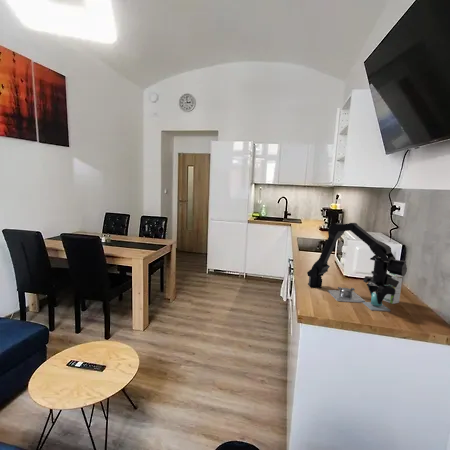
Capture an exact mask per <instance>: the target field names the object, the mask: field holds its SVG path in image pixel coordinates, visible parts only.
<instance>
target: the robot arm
mask: <svg viewBox="0 0 450 450" xmlns="http://www.w3.org/2000/svg"><path fill="white" fill-rule="evenodd" d="M327 231H328V233H327V235H328V237H327V239H326V242H325V244H324V247H323V249H322V251H321V253H320V256H319V257H318V259H316V261H315V262H314V263H313V265H312V267H311V268H310V269H309V270H308V271H307V272H306V273H307V276H308V283H307V285H308V287H309V288H313V289H322V286H323V279H322V277H324V275H325V274H326V273H328V270H329V268H330V265H329V263H328V261H329V259H330V258H331V255H332V254H333V253H332V252H333V250H334V248H335V246H336V244H337V242H338V240H339V239H340V238H341V237H342V236H343V234H344V233H345V232H349V231H350V232H351V233H353V234H354V235H355V236H356V237H357V238H358V239H360V240H361V241H362V242H363V243H365V244H366V245H367V246H368V247H369V249H370V251H371V252H372V253H373V254H374V255H373V256H372V257H370V259H369V260H370V261H374V263H373V270H371V272H370V273H371V274H372V276H369V275H368V276H366V275H365V276H364V277H363V282H364V283H365V284H366V286H367V288H368V291H369V293H370V297H372V293H373V292H376V297H377V302H378V304H381V303H382V304H383V301H384V300H383V299H384V297H385V296H386V295H387V294H393V295H395V292H396V290H395V289H394V288H393V287H391V286H384V285H389V284H390V285H392V286H394V287H397V285H398V283H399V281H397V280H395V279H393V278H392V276H391V275H389V274H387V273H392V274H396V275H400V276H403V277H405V275H407V271H408V267H407V266H408V265H407V262H406V260H400V259H399V260H398V259H396V257H395V256H394V254H393V253H392V248H391V246H390V245H388V244H387V243H385V242H383V241H380V240H378V239H376V238H374V236H372V235H371V234H370V233H369V232H367V231H366V230H364V228H362V227H361V226H359V224H358V223H357V222H349V223H342V222H335V223H332V224H331V223H330V225H329V227H328V230H327Z"/></svg>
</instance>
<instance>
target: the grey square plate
mask: <svg viewBox="0 0 450 450" xmlns="http://www.w3.org/2000/svg"><path fill="white" fill-rule="evenodd" d="M355 290H356V289H355V287H351V288H350V287H341V286H338V287H337V289H328V290H327V293H329V294H330V296H332V298H333V299H335V301H336V302H346V303H347V302H348V303H362V304H363V302H366V300H365V298H364V299H363V298H362V297H361V296H360V295H358V293H356V292H355Z"/></svg>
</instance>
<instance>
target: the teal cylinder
mask: <svg viewBox="0 0 450 450" xmlns="http://www.w3.org/2000/svg"><path fill="white" fill-rule="evenodd" d="M370 297H371V299H370V302H371V304H372V305H375V306H382V304H383V302H382V303H381V304H378V302H377V297H376V292H373V293H372V296H370Z"/></svg>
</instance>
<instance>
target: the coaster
mask: <svg viewBox="0 0 450 450" xmlns="http://www.w3.org/2000/svg"><path fill="white" fill-rule="evenodd" d="M362 304H363V305H364V306H365V307H367V308H368V309H369V310H370V311H377V312H378V311H379V312H391V310H392V309H390V308H389V307H387V306H385V305H384V304H383V303H382V306H375V305H372V304H371V301H365V302H363V303H362Z"/></svg>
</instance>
